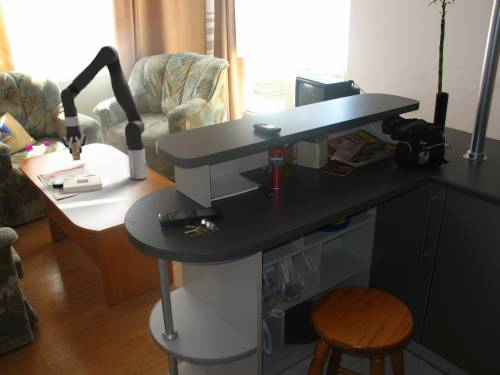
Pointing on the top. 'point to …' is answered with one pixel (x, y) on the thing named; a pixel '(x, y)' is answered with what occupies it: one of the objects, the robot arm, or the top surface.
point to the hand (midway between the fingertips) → (75, 153)
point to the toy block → (29, 147)
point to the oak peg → (75, 151)
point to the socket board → (82, 184)
